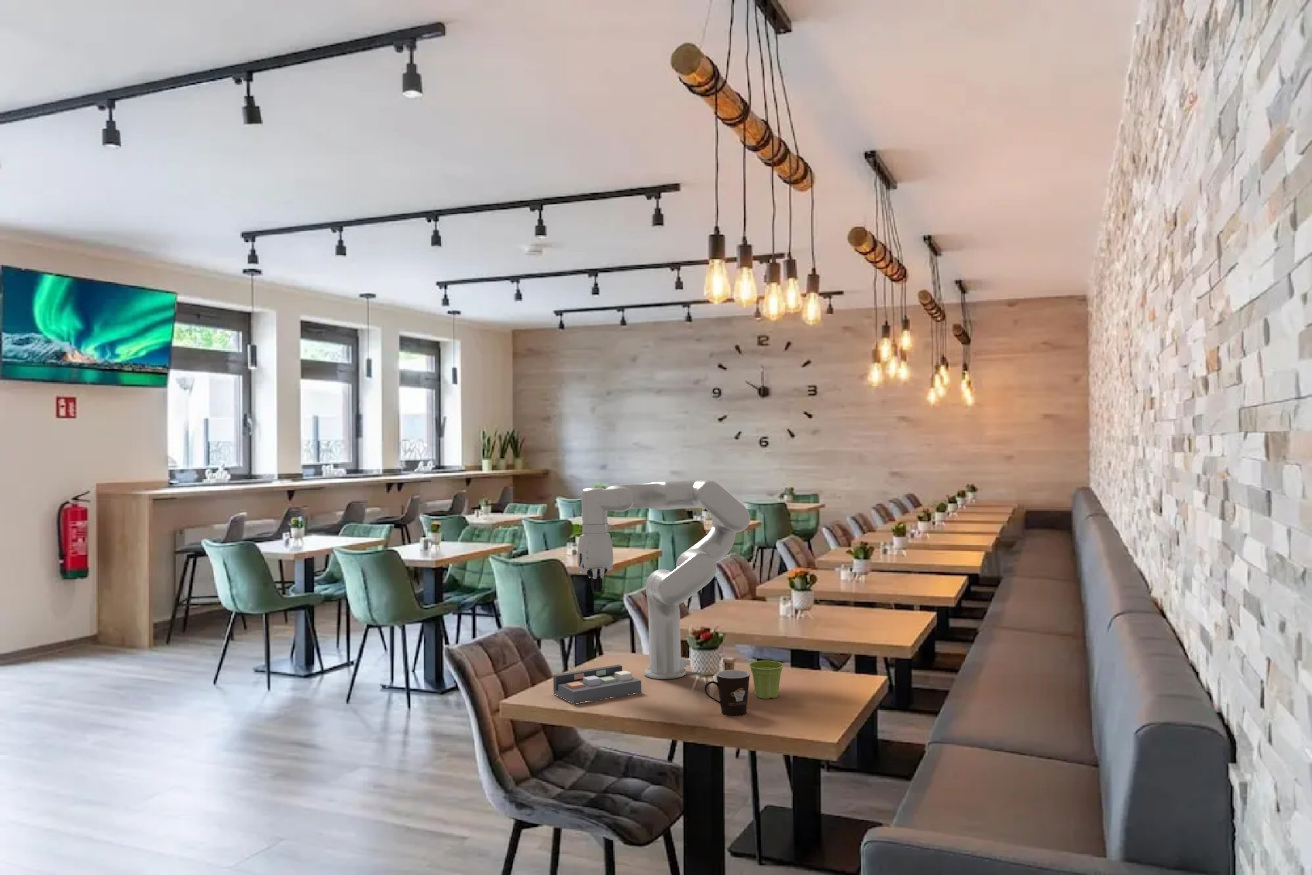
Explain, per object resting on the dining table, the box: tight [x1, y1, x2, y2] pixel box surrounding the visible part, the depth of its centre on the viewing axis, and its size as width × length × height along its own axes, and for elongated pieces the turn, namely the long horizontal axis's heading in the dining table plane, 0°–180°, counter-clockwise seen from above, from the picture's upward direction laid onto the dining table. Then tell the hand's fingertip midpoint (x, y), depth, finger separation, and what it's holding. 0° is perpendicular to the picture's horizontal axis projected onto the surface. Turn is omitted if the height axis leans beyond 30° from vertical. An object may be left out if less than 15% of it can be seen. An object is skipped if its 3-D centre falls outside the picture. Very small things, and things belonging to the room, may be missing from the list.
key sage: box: [600, 676, 616, 684], centre depth 266 cm, size 4×4×2 cm
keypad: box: [552, 664, 642, 705], centre depth 266 cm, size 21×13×6 cm, turn 121°
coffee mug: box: [704, 669, 751, 717], centre depth 244 cm, size 12×9×10 cm
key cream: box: [614, 670, 633, 681], centre depth 268 cm, size 4×4×2 cm
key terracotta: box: [567, 682, 584, 689], centre depth 261 cm, size 4×4×2 cm
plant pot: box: [748, 660, 784, 700], centre depth 259 cm, size 9×9×9 cm
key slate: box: [583, 676, 600, 686], centre depth 263 cm, size 4×4×2 cm
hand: (596, 591), depth 280 cm, fingers closed
